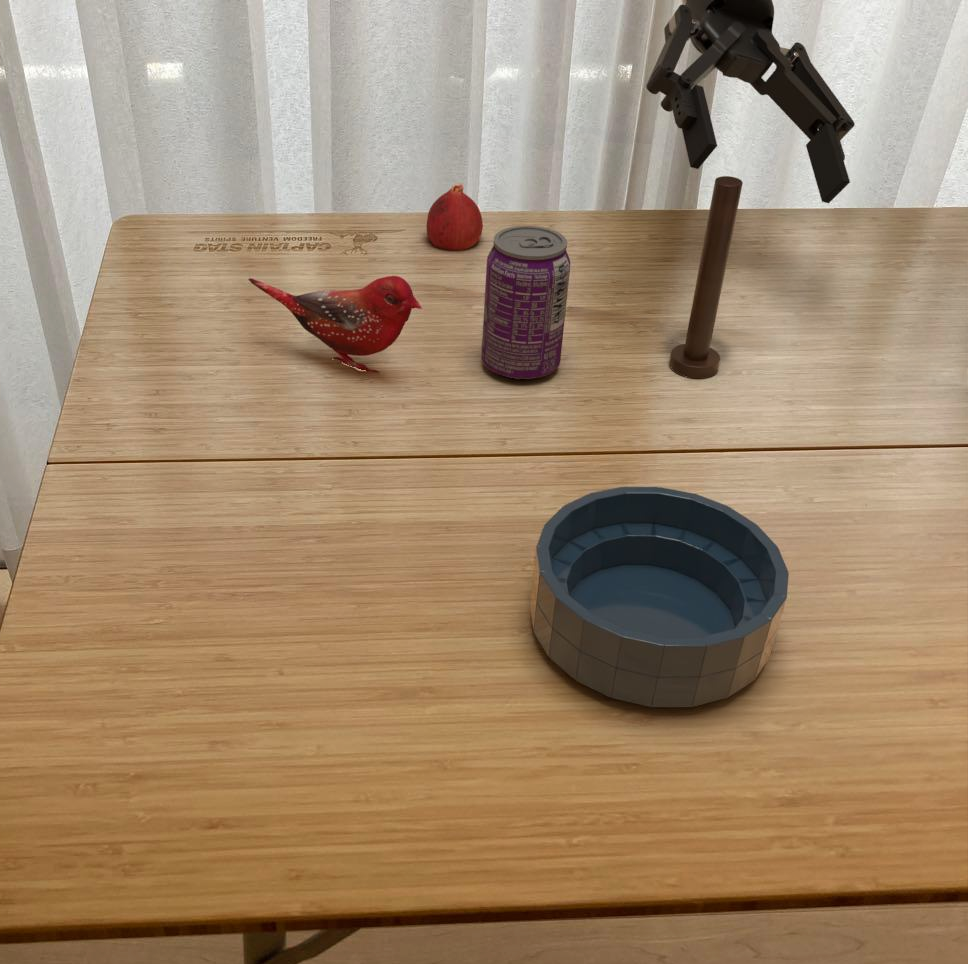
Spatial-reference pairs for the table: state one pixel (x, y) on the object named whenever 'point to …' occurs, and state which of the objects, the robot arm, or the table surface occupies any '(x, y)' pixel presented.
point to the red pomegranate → (454, 221)
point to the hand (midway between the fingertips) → (771, 175)
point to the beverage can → (525, 302)
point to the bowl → (657, 595)
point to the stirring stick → (709, 284)
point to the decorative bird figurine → (352, 315)
